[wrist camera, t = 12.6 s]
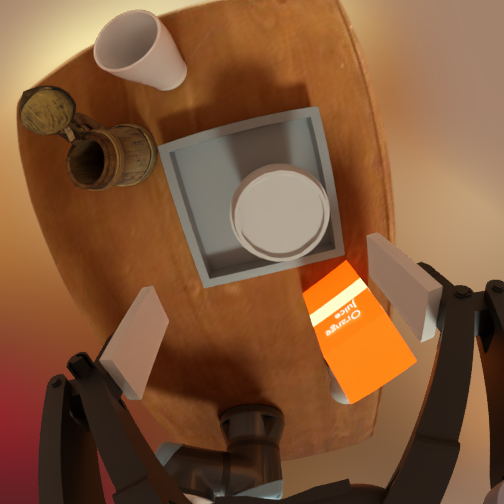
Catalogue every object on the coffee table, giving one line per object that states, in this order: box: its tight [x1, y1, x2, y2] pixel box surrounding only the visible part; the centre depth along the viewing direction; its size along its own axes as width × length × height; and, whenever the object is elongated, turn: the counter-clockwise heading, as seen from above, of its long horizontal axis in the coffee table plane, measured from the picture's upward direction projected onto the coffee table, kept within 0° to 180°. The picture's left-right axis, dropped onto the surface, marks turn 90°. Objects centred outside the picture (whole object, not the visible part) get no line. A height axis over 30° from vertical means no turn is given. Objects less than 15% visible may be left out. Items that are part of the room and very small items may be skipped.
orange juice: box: [303, 260, 416, 404], centre depth 33 cm, size 8×9×20 cm
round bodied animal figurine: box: [328, 367, 351, 405], centre depth 47 cm, size 7×12×8 cm, turn 16°
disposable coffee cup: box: [230, 164, 330, 262], centre depth 30 cm, size 10×10×12 cm
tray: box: [158, 106, 345, 288], centre depth 35 cm, size 20×20×4 cm
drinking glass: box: [94, 10, 187, 91], centre depth 22 cm, size 7×7×15 cm
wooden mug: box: [19, 86, 158, 191], centre depth 24 cm, size 9×14×18 cm, turn 22°
